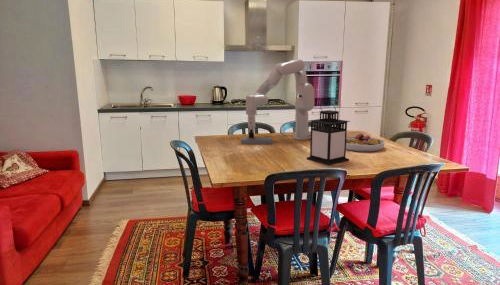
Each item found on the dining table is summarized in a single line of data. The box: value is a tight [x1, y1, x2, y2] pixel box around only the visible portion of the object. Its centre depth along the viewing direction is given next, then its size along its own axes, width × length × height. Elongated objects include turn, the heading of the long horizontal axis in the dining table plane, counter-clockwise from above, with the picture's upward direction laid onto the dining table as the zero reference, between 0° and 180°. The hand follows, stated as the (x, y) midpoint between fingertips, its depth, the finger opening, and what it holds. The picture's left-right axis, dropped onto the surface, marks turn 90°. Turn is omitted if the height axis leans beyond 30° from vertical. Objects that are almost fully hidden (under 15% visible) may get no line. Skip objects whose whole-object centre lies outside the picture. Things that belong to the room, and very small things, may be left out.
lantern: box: [306, 100, 351, 166], centre depth 212 cm, size 17×17×35 cm
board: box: [240, 136, 273, 145], centre depth 266 cm, size 22×11×3 cm, turn 88°
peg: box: [247, 127, 255, 139], centre depth 265 cm, size 4×4×10 cm
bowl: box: [346, 133, 385, 153], centre depth 247 cm, size 30×30×8 cm
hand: (251, 137), depth 266 cm, fingers closed on peg, 4 cm apart
